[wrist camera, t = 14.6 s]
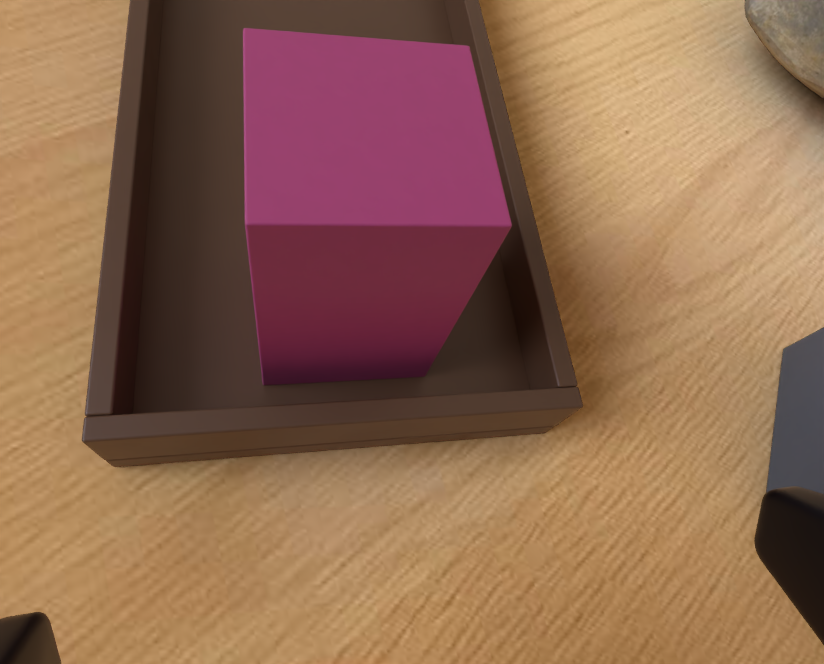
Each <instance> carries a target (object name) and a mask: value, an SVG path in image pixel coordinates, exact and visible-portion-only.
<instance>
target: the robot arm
mask: <svg viewBox="0 0 824 664" xmlns="http://www.w3.org/2000/svg"><path fill="white" fill-rule="evenodd" d="M754 541H755V548H756V551H757V554H758V556H759V558H760V559H761V561H762V562H763V564H764V565H765V566H766V568H767V569H768V570H769V572H770V573H771V574H772V576H773V577H774V578H775V580H776V581H777V582H778V584H779V585H780V586H781V588H782V589H783V591H784V592H785V593H786V595H787V596H788V597H789V599H790V600H791V601H792V603H793V604H794V605H795V607H796V608H797V609H798V611H799V612H800V613H801V615H802V616H803V618H804V619H805V620H806V622H807V623H808V624H809V626H810V627H811V628H812V630H813V631H814V632H815V634H816V635H817V636H818V638H819V639H820V640H821V642H822V643H823V645H824V494H822V493H818V492H815V491H812V490H809V489H805V488H802V487H796V486H791V487H785V488H779V489H773V490H770V491H768V492H767V493H766V494H765V495H764V497H763V499H762V503H761V509H760V514H759V519H758V524H757V529H756V534H755V540H754ZM0 664H61V660H60V656H59V653H58V649H57V645H56V642H55V638H54V634H53V630H52V627H51V623H50V621H49V619H48V617H47V616H46V614H44V613H41V612H34V613H28V614H22V615H16V616H10V617H6V618H2V619H0Z"/></svg>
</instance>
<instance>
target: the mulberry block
mask: <svg viewBox="0 0 824 664" xmlns="http://www.w3.org/2000/svg"><path fill="white" fill-rule="evenodd" d="M243 92H244V191H245V230H246V238H247V247H248V256H249V265H250V274H251V283H252V292H253V301H254V310H255V319H256V328H257V337H258V345H259V354H260V363H261V372H262V381H263V385H278V384H297V383H315V382H334V381H353V380H371V379H390V378H409V377H424V376H426V374H427V372H428V370H429V369H430V367H431V365H432V363H433V362H434V360H435V358H436V357H437V355H438V353H439V351H440V350H441V348H442V346H443V344H444V343H445V341H446V339H447V337H448V336H449V334H450V332H451V331H452V329H453V327H454V325H455V324H456V322H457V320H458V318H459V317H460V315H461V313H462V312H463V310H464V308H465V306H466V305H467V303H468V301H469V299H470V298H471V296H472V294H473V293H474V291H475V289H476V287H477V286H478V284H479V282H480V280H481V279H482V277H483V275H484V274H485V272H486V270H487V268H488V267H489V265H490V263H491V261H492V260H493V258H494V256H495V255H496V253H497V251H498V249H499V248H500V246H501V244H502V242H503V241H504V239H505V237H506V236H507V234H508V232H509V230H510V229H511V227H512V223H511V219H510V215H509V211H508V206H507V202H506V198H505V194H504V190H503V185H502V181H501V177H500V173H499V169H498V164H497V160H496V156H495V152H494V148H493V143H492V139H491V135H490V131H489V127H488V122H487V118H486V114H485V110H484V106H483V101H482V97H481V93H480V89H479V85H478V80H477V76H476V72H475V68H474V64H473V59H472V55H471V51H470V47H469V46H465V45H453V44H440V43H428V42H415V41H402V40H390V39H377V38H365V37H352V36H340V35H327V34H315V33H302V32H290V31H277V30H265V29H252V28H244V29H243Z"/></svg>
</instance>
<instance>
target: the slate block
mask: <svg viewBox="0 0 824 664" xmlns="http://www.w3.org/2000/svg"><path fill="white" fill-rule="evenodd" d="M791 486H796V487H802V488H805V489H809V490H812V491H815V492H818V493H822V494H824V327H823V328H822V329H820V330H818V331H816V332H814V333H812V334H810V335H808V336H807V337H805V338H803V339H801V340H799V341H797V342H795V343H793V344H792V345H790V346H788V347H786V348H784V349H783V354H782V363H781V371H780V380H779V388H778V397H777V405H776V414H775V422H774V431H773V439H772V447H771V456H770V464H769V473H768V481H767V490H766V493H767V492H768V491H770V490H773V489H779V488H785V487H791Z"/></svg>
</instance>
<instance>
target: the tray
mask: <svg viewBox="0 0 824 664" xmlns="http://www.w3.org/2000/svg"><path fill="white" fill-rule="evenodd" d="M244 28H252V29H265V30H277V31H290V32H302V33H315V34H327V35H340V36H352V37H365V38H377V39H390V40H402V41H415V42H428V43H440V44H453V45H465V46H469V47H470V51H471V55H472V59H473V64H474V68H475V72H476V76H477V80H478V85H479V89H480V93H481V97H482V101H483V106H484V110H485V114H486V118H487V122H488V127H489V131H490V135H491V139H492V143H493V148H494V152H495V156H496V160H497V164H498V169H499V173H500V177H501V181H502V185H503V190H504V194H505V198H506V202H507V206H508V211H509V215H510V219H511V223H512V227H511V229H510V230H509V232H508V234H507V236H506V237H505V239H504V241H503V242H502V244H501V246H500V248H499V249H498V251H497V253H496V255H495V256H494V258H493V260H492V261H491V263H490V265H489V267H488V268H487V270H486V272H485V274H484V275H483V277H482V279H481V280H480V282H479V284H478V286H477V287H476V289H475V291H474V293H473V294H472V296H471V298H470V299H469V301H468V303H467V305H466V306H465V308H464V310H463V312H462V313H461V315H460V317H459V318H458V320H457V322H456V324H455V325H454V327H453V329H452V331H451V332H450V334H449V336H448V337H447V339H446V341H445V343H444V344H443V346H442V348H441V350H440V351H439V353H438V355H437V357H436V358H435V360H434V362H433V363H432V365H431V367H430V369H429V370H428V372H427V374H426V376H424V377H409V378H390V379H371V380H353V381H334V382H315V383H297V384H278V385H263V381H262V372H261V363H260V354H259V345H258V337H257V328H256V319H255V310H254V301H253V292H252V283H251V274H250V265H249V256H248V247H247V238H246V230H245V191H244V92H243V29H244ZM576 386H577V381H576V377H575V373H574V369H573V365H572V362H571V358H570V354H569V350H568V346H567V342H566V338H565V334H564V331H563V327H562V323H561V319H560V315H559V311H558V307H557V303H556V300H555V296H554V292H553V288H552V284H551V280H550V276H549V272H548V268H547V265H546V261H545V257H544V253H543V249H542V245H541V241H540V237H539V234H538V230H537V226H536V222H535V218H534V214H533V210H532V206H531V203H530V199H529V195H528V191H527V187H526V183H525V179H524V175H523V172H522V168H521V164H520V160H519V156H518V152H517V148H516V144H515V141H514V137H513V133H512V129H511V125H510V121H509V117H508V113H507V110H506V106H505V102H504V98H503V94H502V90H501V86H500V82H499V78H498V75H497V71H496V67H495V63H494V59H493V55H492V51H491V47H490V44H489V40H488V36H487V32H486V28H485V24H484V20H483V16H482V13H481V9H480V5H479V1H478V0H130V6H129V15H128V24H127V33H126V43H125V52H124V61H123V70H122V79H121V88H120V97H119V106H118V116H117V125H116V134H115V143H114V152H113V161H112V170H111V180H110V189H109V198H108V207H107V216H106V225H105V234H104V243H103V253H102V262H101V271H100V280H99V289H98V298H97V307H96V316H95V326H94V335H93V344H92V353H91V362H90V371H89V380H88V389H87V399H86V408H85V415H86V417H85V419H84V425H83V434H82V441H83V443H85V444H86V445H87V446H88V447H89V448H91V449H92V450H93V451H94V452H96V453H97V454H98V455H99V456H100V457H102V458H103V459H104V460H106V461H107V462H108V463H109V464H111V465H112V466H114V467H121V466H134V465H146V464H159V463H172V462H184V461H197V460H210V459H222V458H235V457H247V456H260V455H273V454H285V453H298V452H311V451H323V450H336V449H349V448H361V447H374V446H387V445H399V444H412V443H424V442H437V441H450V440H462V439H475V438H488V437H500V436H513V435H526V434H538V433H545V432H547V431H548V430H550V429H551V428H553V427H554V426H556V425H558V424H559V423H560V422H562V421H563V420H565V419H566V418H568V417H569V416H570V415H572V414H573V413H575V412H576V411H578V410H579V409H581V408H582V407H583V404H582V400H581V396H580V392H579V389H578V387H576Z"/></svg>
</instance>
